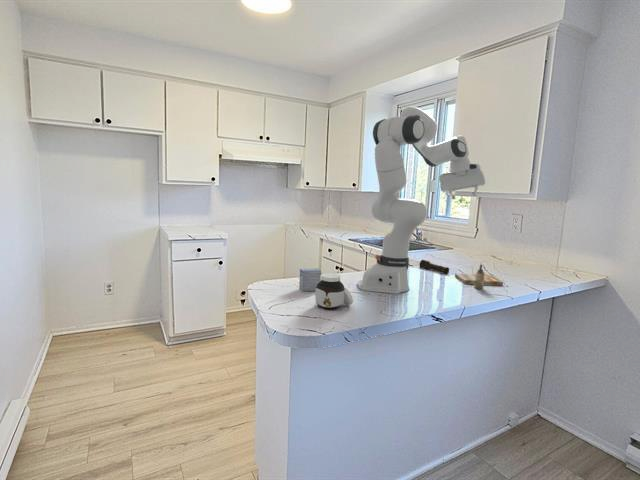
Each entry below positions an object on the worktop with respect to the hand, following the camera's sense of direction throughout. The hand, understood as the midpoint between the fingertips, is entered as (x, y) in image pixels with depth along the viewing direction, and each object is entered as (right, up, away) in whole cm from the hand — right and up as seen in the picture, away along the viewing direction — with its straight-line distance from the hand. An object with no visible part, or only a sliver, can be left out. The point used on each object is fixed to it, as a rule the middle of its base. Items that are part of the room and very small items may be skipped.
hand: (463, 197), depth 175 cm
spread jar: (-64, -45, -43) cm, 89 cm away
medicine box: (-74, -42, -24) cm, 88 cm away
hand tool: (-9, -37, +21) cm, 44 cm away
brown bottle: (+2, -42, -11) cm, 44 cm away
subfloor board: (+8, -41, +2) cm, 41 cm away
